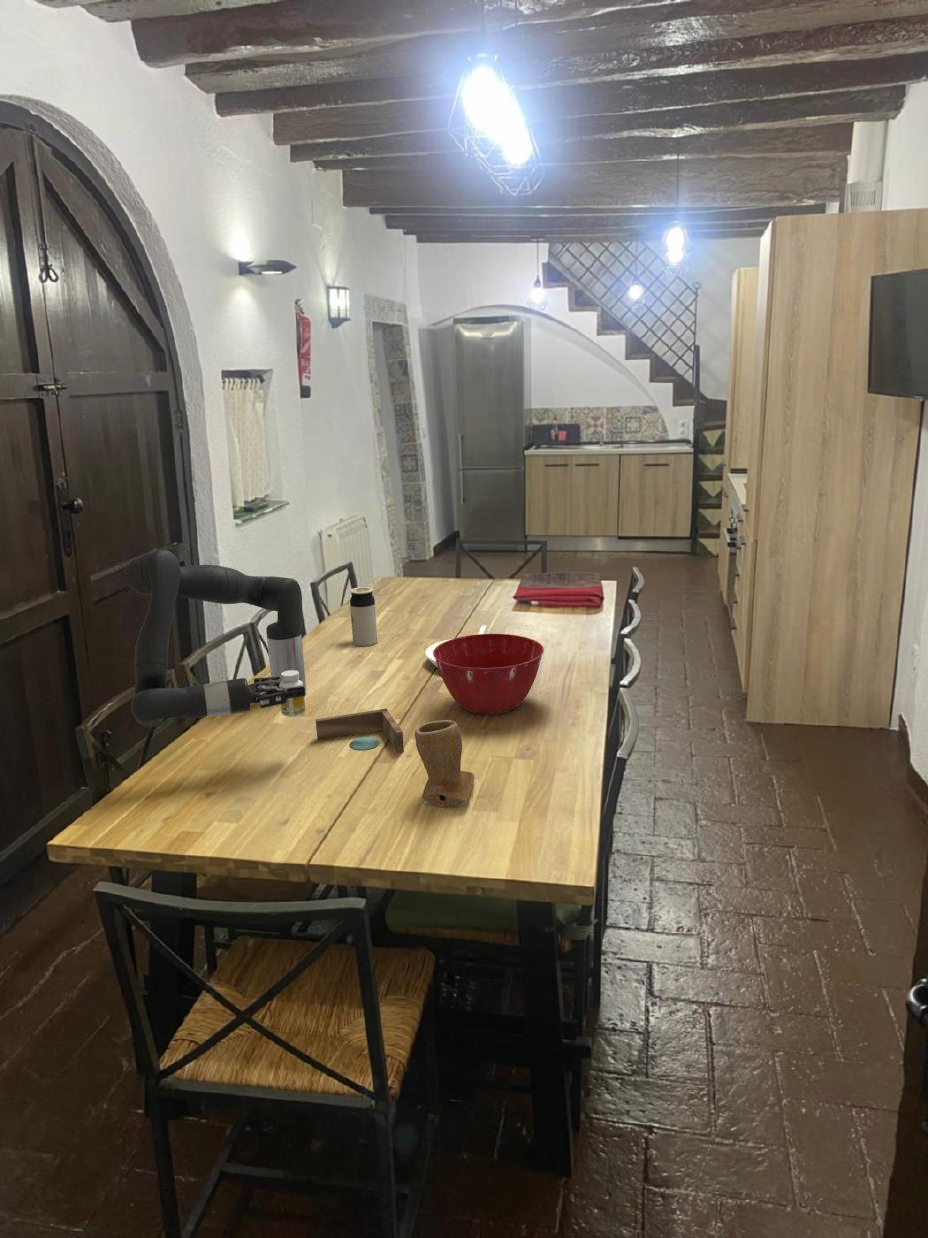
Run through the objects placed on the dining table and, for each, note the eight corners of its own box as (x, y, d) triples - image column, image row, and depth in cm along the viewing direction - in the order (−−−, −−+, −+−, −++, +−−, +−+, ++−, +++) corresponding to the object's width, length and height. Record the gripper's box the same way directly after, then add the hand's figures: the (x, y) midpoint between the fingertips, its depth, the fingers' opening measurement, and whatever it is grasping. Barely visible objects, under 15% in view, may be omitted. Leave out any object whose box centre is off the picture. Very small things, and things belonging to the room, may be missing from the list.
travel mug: (379, 639, 296) (376, 586, 291) (374, 646, 289) (371, 592, 284) (356, 639, 297) (352, 586, 292) (350, 646, 289) (346, 592, 285)
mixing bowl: (537, 728, 218) (536, 668, 214) (424, 723, 223) (420, 664, 219) (550, 688, 244) (549, 634, 240) (448, 685, 250) (446, 632, 246)
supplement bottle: (307, 708, 208) (303, 668, 205) (303, 716, 202) (300, 676, 200) (283, 709, 207) (279, 669, 205) (280, 718, 202) (276, 677, 200)
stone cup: (424, 776, 194) (421, 711, 190) (479, 778, 192) (476, 713, 188) (408, 809, 180) (403, 740, 176) (466, 812, 178) (463, 742, 174)
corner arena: (317, 738, 217) (315, 719, 215) (387, 727, 222) (386, 708, 220) (328, 764, 202) (327, 743, 201) (403, 751, 207) (402, 731, 206)
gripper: (227, 692, 191) (306, 680, 196) (222, 671, 205) (296, 661, 210) (231, 724, 194) (309, 712, 199) (226, 702, 207) (299, 691, 212)
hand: (302, 686), depth 204 cm, fingers closed on supplement bottle, 5 cm apart
